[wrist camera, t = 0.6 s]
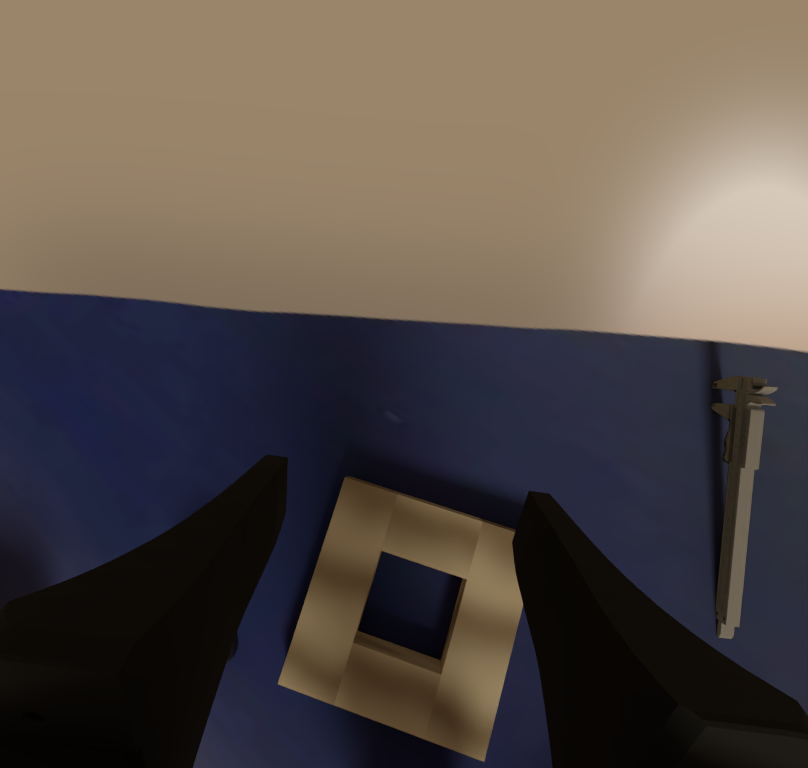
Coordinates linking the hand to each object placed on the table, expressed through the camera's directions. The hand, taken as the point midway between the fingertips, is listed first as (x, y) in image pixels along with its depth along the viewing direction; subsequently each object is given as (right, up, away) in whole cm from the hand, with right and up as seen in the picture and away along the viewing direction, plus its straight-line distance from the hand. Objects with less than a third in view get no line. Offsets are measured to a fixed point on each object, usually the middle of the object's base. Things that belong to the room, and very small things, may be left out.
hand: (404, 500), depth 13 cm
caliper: (+26, -6, +24) cm, 36 cm away
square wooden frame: (+1, -14, +23) cm, 27 cm away
